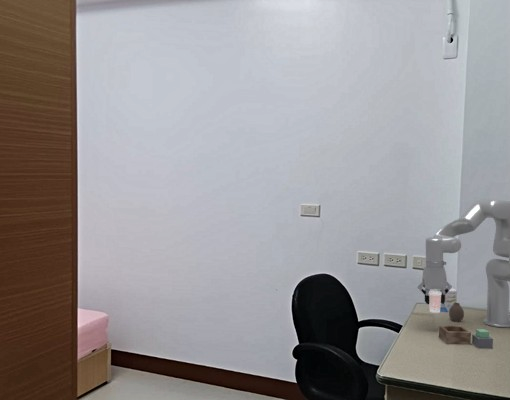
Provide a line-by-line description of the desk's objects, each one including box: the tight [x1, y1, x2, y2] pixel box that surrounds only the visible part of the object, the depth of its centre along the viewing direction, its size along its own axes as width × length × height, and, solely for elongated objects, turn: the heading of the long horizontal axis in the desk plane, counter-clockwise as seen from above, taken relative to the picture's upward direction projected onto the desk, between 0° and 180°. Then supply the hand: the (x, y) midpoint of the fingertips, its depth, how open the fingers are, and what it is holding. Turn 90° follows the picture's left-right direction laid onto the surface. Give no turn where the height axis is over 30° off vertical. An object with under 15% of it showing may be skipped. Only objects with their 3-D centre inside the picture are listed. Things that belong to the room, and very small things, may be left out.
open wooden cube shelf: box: [438, 325, 472, 345], centre depth 216 cm, size 10×10×5 cm
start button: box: [475, 328, 490, 338], centre depth 209 cm, size 4×4×5 cm
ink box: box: [436, 287, 458, 313], centre depth 268 cm, size 9×8×12 cm
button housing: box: [471, 333, 494, 349], centre depth 209 cm, size 6×6×4 cm
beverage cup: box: [428, 290, 442, 314], centre depth 229 cm, size 6×6×14 cm
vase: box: [448, 302, 465, 323], centre depth 247 cm, size 7×7×9 cm
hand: (434, 303), depth 229 cm, fingers closed on beverage cup, 6 cm apart
